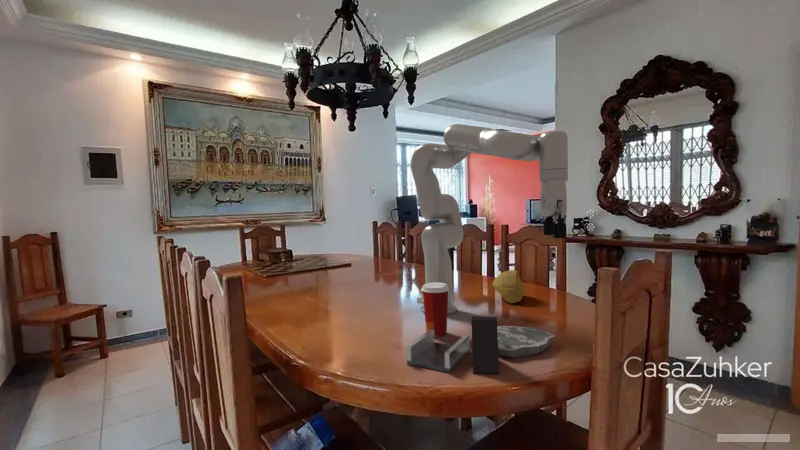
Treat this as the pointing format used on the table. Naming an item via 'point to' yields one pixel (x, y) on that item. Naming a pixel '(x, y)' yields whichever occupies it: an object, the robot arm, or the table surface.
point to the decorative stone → (509, 286)
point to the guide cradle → (437, 352)
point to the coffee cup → (436, 307)
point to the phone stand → (485, 345)
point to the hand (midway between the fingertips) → (554, 236)
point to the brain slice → (522, 341)
